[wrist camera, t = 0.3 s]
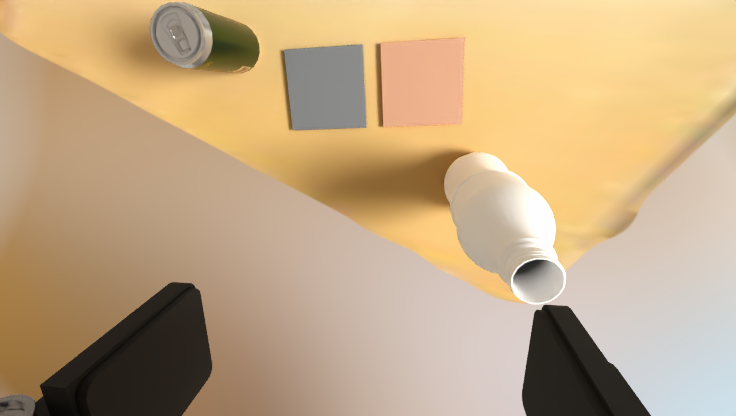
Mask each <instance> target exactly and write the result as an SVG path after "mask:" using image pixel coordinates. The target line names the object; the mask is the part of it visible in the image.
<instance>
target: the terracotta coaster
mask: <svg viewBox="0 0 736 416" xmlns="http://www.w3.org/2000/svg"><path fill="white" fill-rule="evenodd" d="M464 44H465V38H451V39H436V40H422V41H407V42H392V43H380V46H381V74H382V103H383V127H395V126H422V125H449V124H462V113H463V79H464Z"/></svg>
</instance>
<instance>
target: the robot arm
mask: <svg viewBox="0 0 736 416" xmlns="http://www.w3.org/2000/svg"><path fill="white" fill-rule="evenodd" d="M211 371H212V361H211V354H210V348H209V343H208V336H207V330H206V324H205V318H204V312H203V307H202V300H201V294H200V291H199V290H198V289H196V288H195V286H194V285H193V284H191V283H177V282H173V283H170V284H168V285H167V286H165V287H164V288H163V289H162V290H160V291H159V292H158V293H156V294H155V295H154V296H153V297H151V298H150V299H149V300H148V301H146V302H145V303H144V304H143V305H141V306H140V307H139V308H138V309H136V310H135V311H134V312H132V313H131V314H130V315H129V316H127V317H126V318H125V319H124V320H122V321H121V322H120V323H118V324H117V325H116V326H115V327H114V328H112V329H111V330H110V331H108V332H107V333H106V334H105V335H103V336H102V337H101V338H99V339H98V340H97V341H96V342H94V343H93V344H92V345H91V346H89V347H88V348H87V349H85V350H84V351H83V352H82V353H80V354H79V355H78V356H77V357H75V358H74V359H73V360H72V361H70V362H69V363H68V364H66V365H65V366H64V367H63V368H61V369H60V370H59V371H58V372H56V373H55V374H54V375H52V376H51V377H50V378H49V379H48V380H46V381H45V382H44V383H42V384H41V385H40V387H41V390H42V393H43V397H42V398H41V399H39V400H38V401H37V402H36V403H35V400H34V399H33V398H32V397H30V396H27V395H10V396H6V397H3V398H0V416H182V415H183V413H184V412H185V410H186V409H187V408H188V406H189V405H190V403H191V402H192V400H193V399H194V398H195V397H196V395H197V394H198V392H199V391H200V390H201V388H202V386H203V385H204V384H205V382H206V381H207V380H208V378H209V377H210V374H211ZM522 401H523V406H524V409H525V412H526V415H527V416H651V415H650V414H649V412H648V411H647V410H646V408H645V407H644V405H643V404H642V403H641V401H640V400H639V398H638V397H637V396H636V394H635V393H634V392H633V390H632V389H631V387H630V386H629V385H628V383H627V382H626V380H625V379H624V378H623V376H622V375H621V373H620V372H619V371H618V369H617V368H616V367H615V366H614V365H613V364H611V363H609V362H608V361H607V359H606V358H605V357H604V355H603V354H602V352H601V351H600V349H599V348H598V347H597V345H596V344H595V343H594V341H593V340H592V338H591V337H590V335H589V334H588V332H587V331H586V330H585V328H584V327H583V325H582V324H581V323H580V321H579V320H578V318H577V317H576V316H575V314H574V313H573V311H572V310H571V309H570V308H569V307H568V306H556V305H544V306H543V307H542V310H536V311H535V313H534V319H533V325H532V332H531V339H530V345H529V352H528V357H527V364H526V370H525V377H524V383H523V390H522Z"/></svg>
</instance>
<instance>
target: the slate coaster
mask: <svg viewBox="0 0 736 416" xmlns="http://www.w3.org/2000/svg"><path fill="white" fill-rule="evenodd" d="M284 55H285V64H286V73H287V83H288V92H289V101H290V110H291V119H292V129H293V130H315V129H342V128H366V127H367V116H366V95H365V74H364V53H363V45H347V46H333V47H318V48H303V49H288V50H284Z"/></svg>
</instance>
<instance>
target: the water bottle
mask: <svg viewBox="0 0 736 416" xmlns="http://www.w3.org/2000/svg"><path fill="white" fill-rule="evenodd" d="M444 190H445V194H446V197H447V199H448V201H449V202H450V211H451V216H452V219H453V222H454V224H455V226H456V227H457V236H458V240H459V243H460V245H461V247H462V249H463V251H464V252H465V253H466V255H467V256H468V257H469V258H470V259H471V260H472V261H473V262H474V263H475V264H476V265H478V266H480V267H481V268H483V269H485V270H487V271H490V272H492V273H497V274H499V275H500V277H501V278H502V280H503V281H504V282H505V283H507V284H508V285H509V286H510V288H511V291H512V292H513V293H514V294H515V295H516V296H517V297H518V298H519V299H520V300H522V301H524V302H527V303H529V304H543V303H546V302H550V301H552V300H553V299H554V298H556V297H557V296H559V295H560V293H561V292H562V290H563V289H564V287H565V282H566V274H565V271H564V269H563V267H562V266H561V264H560V263H559V262H558V260H557V255H556V252H555V250H554V249H553V248H552V246H553V243H554V239H555V231H556V228H555V220H554V217H553V213H552V211H551V209H550V207H549V205H548V203H547V202H546V201H545V199H544V198H543V197H542V196H541V195H540V194H539V193H538V192H536V191H535V190H533V189H532V188H530V187H528V186H527V184H526V183H525V182H524V180H522V179H521V178H520V177H519V176H518V175H516V174H515V173H513V172H511V171H508V170H507V168H506V166H505V165H504V164H503V163H502V162H501V161H500V160H499V159H498V158H496V157H495V156H493V155H491V154H488V153H484V152H472V153H470V154H467V155H464V156H462V157H459V158H457V159H456V160H455V161H454V162H453V163H452V164H451V166H450V167H449V168H448V170H447V172H446V175H445V179H444Z"/></svg>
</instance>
